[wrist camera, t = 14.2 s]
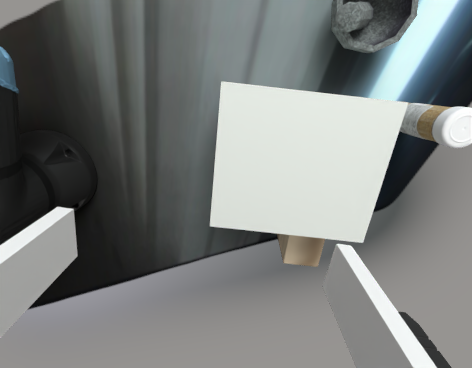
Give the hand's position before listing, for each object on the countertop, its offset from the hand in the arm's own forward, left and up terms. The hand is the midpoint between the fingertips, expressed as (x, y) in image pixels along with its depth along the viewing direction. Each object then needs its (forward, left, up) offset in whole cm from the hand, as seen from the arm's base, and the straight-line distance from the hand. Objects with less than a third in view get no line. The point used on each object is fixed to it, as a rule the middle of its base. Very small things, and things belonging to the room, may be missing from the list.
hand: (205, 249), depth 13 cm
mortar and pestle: (+15, +18, -33) cm, 40 cm away
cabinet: (+7, +1, -32) cm, 33 cm away
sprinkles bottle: (+26, +6, -33) cm, 42 cm away
